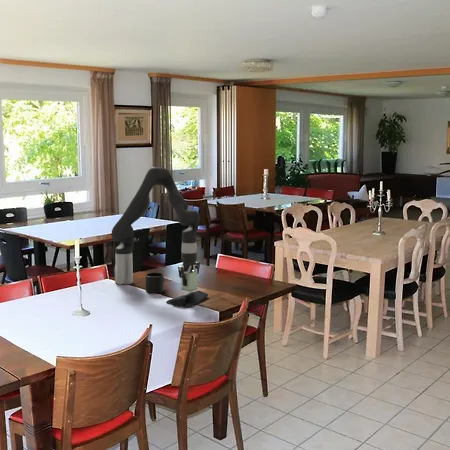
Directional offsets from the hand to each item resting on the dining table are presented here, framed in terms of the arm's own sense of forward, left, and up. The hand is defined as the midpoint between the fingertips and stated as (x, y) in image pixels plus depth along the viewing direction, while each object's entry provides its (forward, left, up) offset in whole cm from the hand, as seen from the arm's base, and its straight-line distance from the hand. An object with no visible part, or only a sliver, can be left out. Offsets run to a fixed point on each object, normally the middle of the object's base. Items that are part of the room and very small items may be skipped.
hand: (189, 284), depth 276 cm
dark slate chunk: (-1, +1, -10) cm, 10 cm away
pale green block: (0, 0, -2) cm, 2 cm away
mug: (-27, +4, -9) cm, 29 cm away
